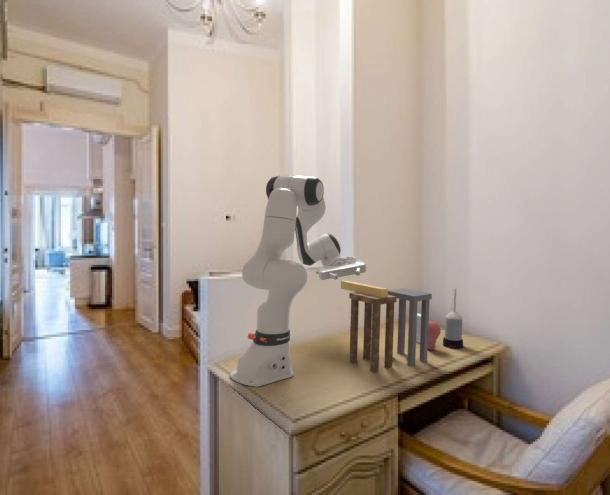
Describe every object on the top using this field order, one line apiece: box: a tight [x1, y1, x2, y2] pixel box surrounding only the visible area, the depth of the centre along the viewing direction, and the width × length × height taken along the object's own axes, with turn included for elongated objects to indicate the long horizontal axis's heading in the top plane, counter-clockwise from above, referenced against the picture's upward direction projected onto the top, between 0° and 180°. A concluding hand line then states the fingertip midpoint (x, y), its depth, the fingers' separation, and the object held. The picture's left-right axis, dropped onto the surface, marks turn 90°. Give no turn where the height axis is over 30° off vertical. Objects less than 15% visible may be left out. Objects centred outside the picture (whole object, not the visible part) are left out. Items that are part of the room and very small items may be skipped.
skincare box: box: [416, 312, 421, 344], centre depth 173 cm, size 6×4×12 cm
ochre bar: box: [340, 280, 389, 298], centre depth 146 cm, size 22×3×3 cm, turn 35°
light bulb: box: [428, 320, 442, 351], centre depth 161 cm, size 7×7×12 cm
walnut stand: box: [348, 291, 398, 374], centre depth 142 cm, size 14×10×26 cm
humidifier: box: [442, 288, 464, 350], centre depth 167 cm, size 8×8×25 cm
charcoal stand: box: [388, 288, 433, 367], centre depth 149 cm, size 14×10×26 cm
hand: (347, 275), depth 156 cm, fingers open, 8 cm apart
